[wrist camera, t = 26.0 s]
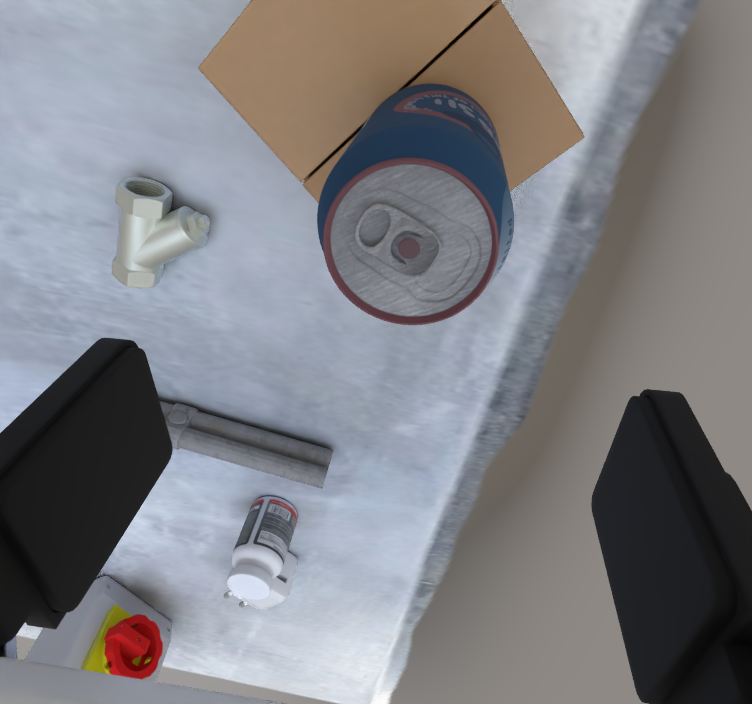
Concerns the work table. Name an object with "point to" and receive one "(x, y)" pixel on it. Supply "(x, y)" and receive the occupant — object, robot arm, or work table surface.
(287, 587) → the power adapter
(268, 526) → the pill bottle
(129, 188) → the pipe fitting
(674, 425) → the robot arm
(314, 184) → the box
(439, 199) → the soda can
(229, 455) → the grey double pipe
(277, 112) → the flap
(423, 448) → the work table surface
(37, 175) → the work table surface
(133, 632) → the electrical switch box
